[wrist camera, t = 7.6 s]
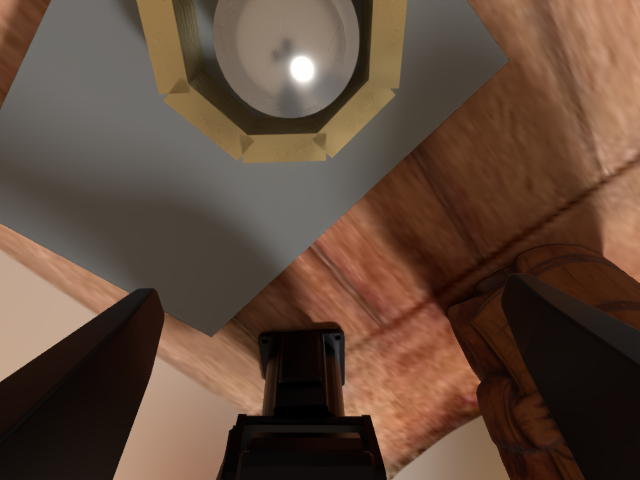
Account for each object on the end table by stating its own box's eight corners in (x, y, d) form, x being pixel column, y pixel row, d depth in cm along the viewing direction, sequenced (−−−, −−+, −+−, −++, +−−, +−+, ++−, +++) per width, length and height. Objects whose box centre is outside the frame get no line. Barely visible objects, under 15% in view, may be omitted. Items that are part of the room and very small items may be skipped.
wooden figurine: (583, 212, 23) (1104, 602, 8) (617, 269, 26) (1057, 644, 11) (426, 309, 27) (578, 689, 12) (470, 350, 30) (639, 704, 15)
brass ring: (380, 137, 19) (392, 158, 16) (193, 142, 18) (175, 164, 16) (399, -116, 14) (420, -143, 11) (140, -113, 13) (102, -140, 11)
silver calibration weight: (347, 93, 17) (363, 126, 13) (241, 98, 17) (219, 132, 13) (348, -39, 15) (368, -58, 10) (223, -34, 15) (185, -51, 10)
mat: (215, 321, 27) (211, 337, 26) (-22, 188, 21) (-42, 200, 20) (495, 56, 18) (509, 60, 17) (225, -317, 12) (216, -355, 11)
